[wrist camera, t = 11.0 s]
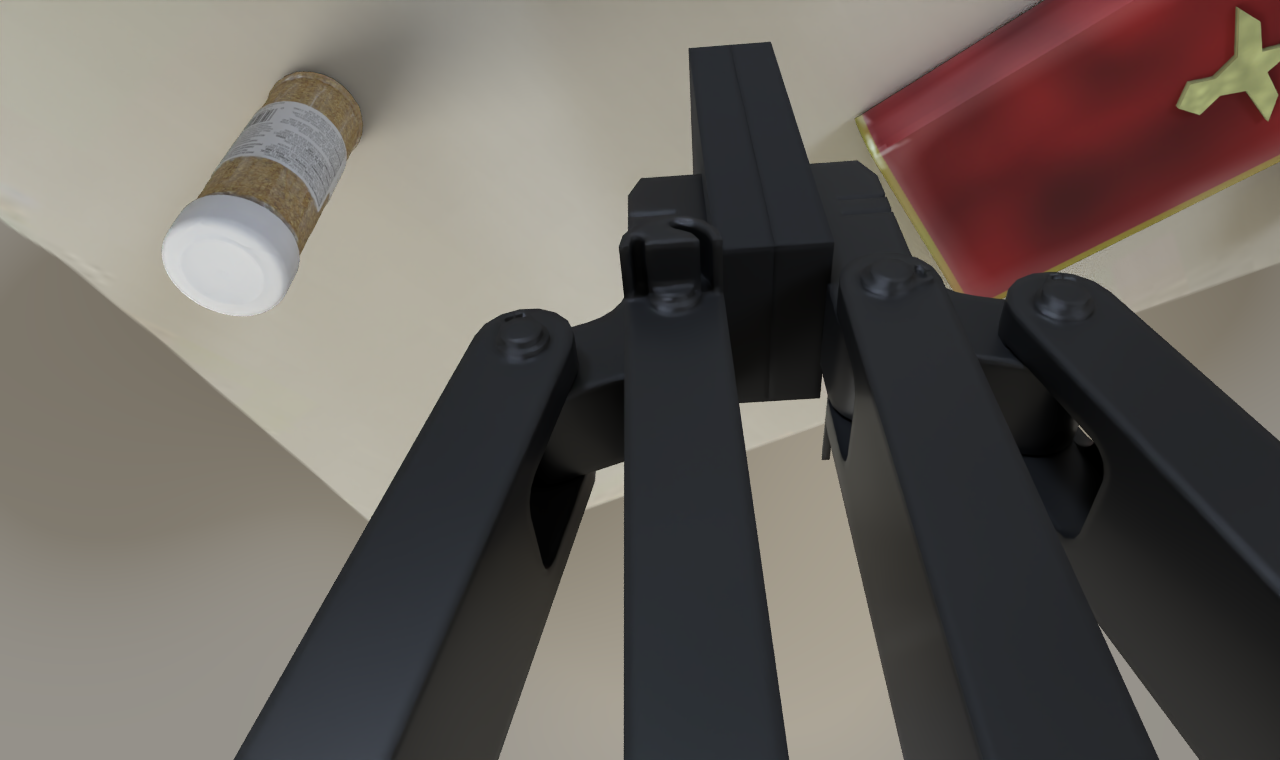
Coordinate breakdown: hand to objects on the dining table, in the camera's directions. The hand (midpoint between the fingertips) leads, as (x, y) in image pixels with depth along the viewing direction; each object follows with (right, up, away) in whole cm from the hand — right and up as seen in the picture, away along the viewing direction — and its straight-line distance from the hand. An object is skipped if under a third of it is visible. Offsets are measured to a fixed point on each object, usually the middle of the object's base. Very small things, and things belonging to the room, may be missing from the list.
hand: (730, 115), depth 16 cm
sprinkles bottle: (-17, +8, +26) cm, 32 cm away
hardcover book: (+21, +9, +25) cm, 34 cm away
